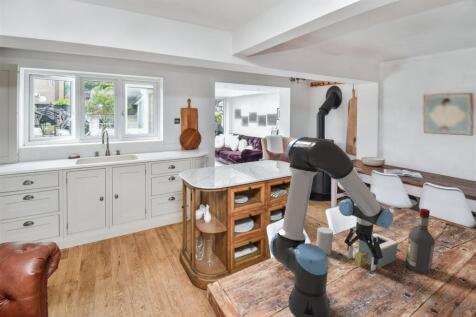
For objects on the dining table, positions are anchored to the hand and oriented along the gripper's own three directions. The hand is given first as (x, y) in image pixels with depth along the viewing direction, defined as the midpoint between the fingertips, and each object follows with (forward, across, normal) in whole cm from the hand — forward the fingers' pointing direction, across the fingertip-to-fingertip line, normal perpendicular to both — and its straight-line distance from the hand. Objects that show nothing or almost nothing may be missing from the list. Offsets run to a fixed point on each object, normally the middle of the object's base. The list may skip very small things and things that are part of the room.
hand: (361, 263), depth 131 cm
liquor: (0, -16, -21) cm, 26 cm away
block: (0, 0, 0) cm, 0 cm away
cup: (0, +18, +6) cm, 19 cm away
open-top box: (0, 0, -12) cm, 12 cm away
